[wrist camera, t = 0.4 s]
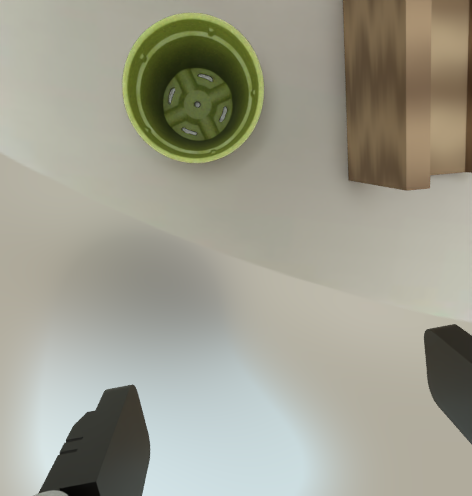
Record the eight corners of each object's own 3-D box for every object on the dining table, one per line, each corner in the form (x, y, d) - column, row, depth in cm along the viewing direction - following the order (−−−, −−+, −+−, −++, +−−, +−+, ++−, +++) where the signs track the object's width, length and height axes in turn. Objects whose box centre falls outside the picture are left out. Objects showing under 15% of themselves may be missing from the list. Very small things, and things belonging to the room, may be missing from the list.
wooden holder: (342, -3, 36) (405, -81, 24) (466, -13, 36) (589, -95, 24) (348, 180, 39) (406, 190, 27) (462, 169, 39) (568, 175, 27)
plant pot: (267, 67, 36) (282, 39, 28) (235, 174, 38) (240, 180, 30) (159, 31, 35) (141, -9, 27) (132, 143, 37) (107, 139, 29)
